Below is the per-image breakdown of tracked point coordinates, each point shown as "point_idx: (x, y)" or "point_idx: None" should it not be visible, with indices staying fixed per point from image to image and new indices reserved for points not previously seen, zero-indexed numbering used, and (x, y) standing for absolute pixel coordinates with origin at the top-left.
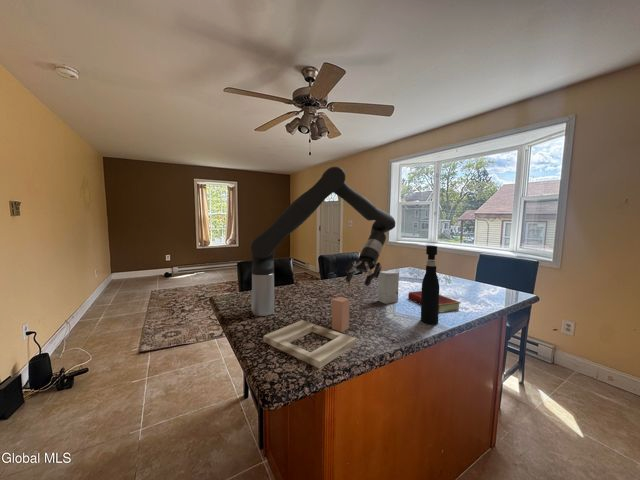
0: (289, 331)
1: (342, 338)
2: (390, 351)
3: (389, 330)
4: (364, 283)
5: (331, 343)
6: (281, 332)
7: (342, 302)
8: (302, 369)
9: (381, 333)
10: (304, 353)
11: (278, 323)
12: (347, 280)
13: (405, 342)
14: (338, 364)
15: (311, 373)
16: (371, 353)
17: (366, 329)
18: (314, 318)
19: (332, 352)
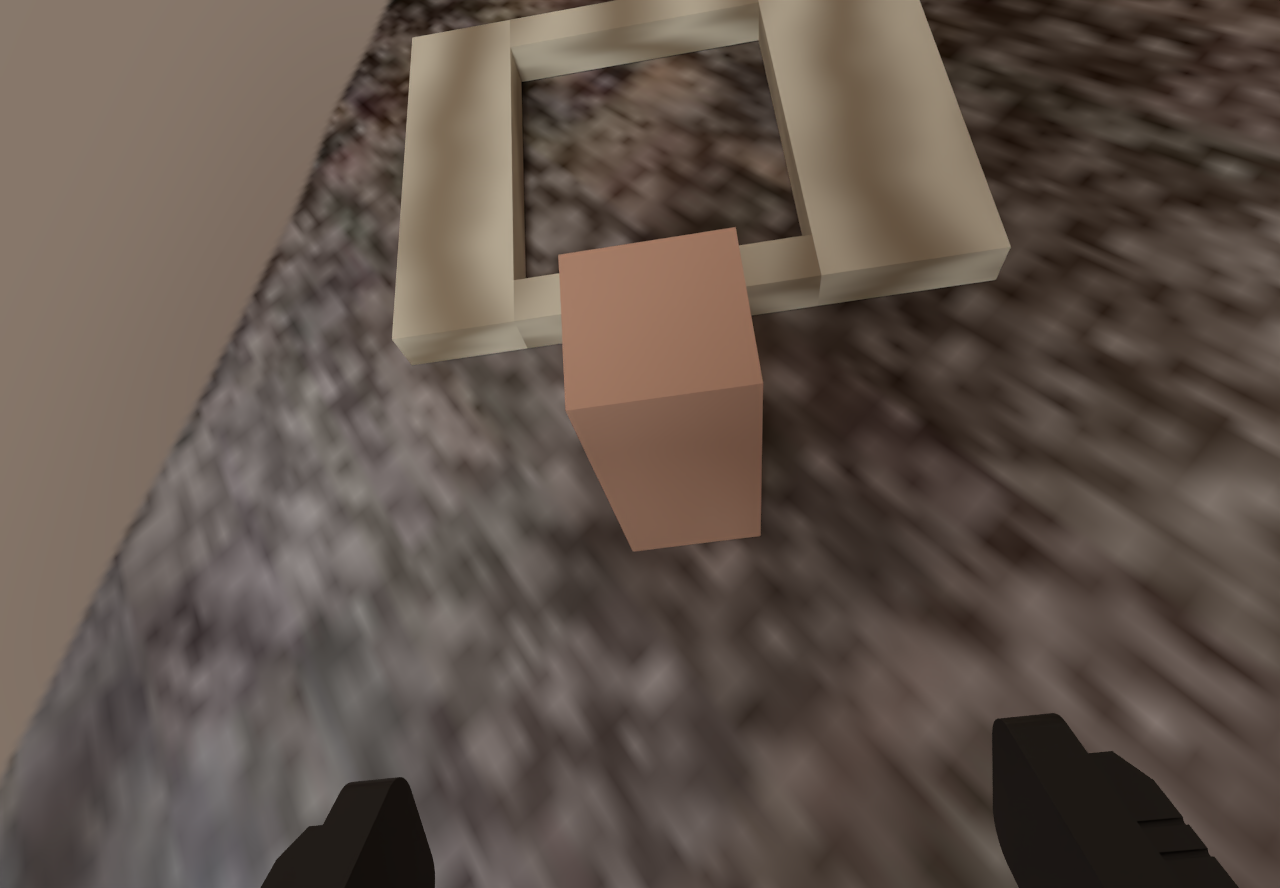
0: (847, 76)
1: (471, 270)
2: (168, 463)
3: (285, 824)
4: (402, 780)
5: (486, 178)
6: (870, 35)
7: (561, 265)
8: (489, 21)
9: (327, 688)
10: (529, 22)
11: (1162, 160)
12: (994, 727)
13: (94, 681)
14: (374, 150)
15: (435, 33)
16: (269, 352)
17: (486, 658)
18: (1086, 467)
19: (412, 122)
